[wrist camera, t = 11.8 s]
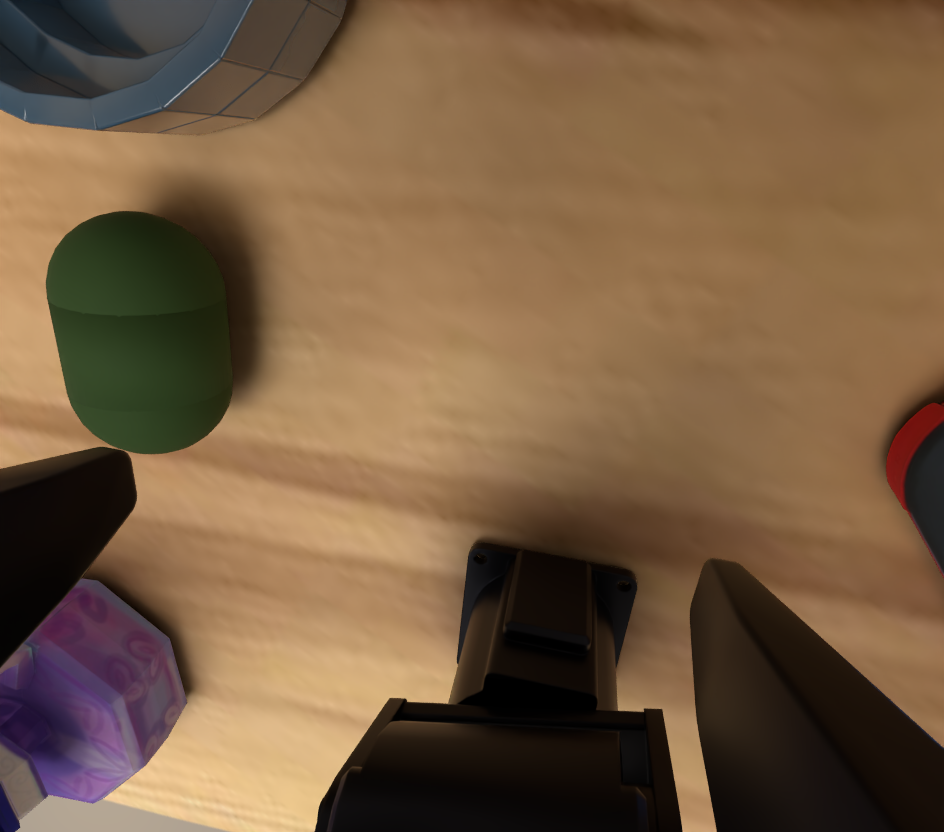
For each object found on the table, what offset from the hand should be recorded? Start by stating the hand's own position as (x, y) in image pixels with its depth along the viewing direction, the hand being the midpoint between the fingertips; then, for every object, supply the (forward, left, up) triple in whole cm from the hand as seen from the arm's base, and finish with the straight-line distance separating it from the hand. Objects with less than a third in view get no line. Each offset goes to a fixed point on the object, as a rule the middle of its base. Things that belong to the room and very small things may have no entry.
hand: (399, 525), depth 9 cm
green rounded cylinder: (-2, +11, -12) cm, 16 cm away
